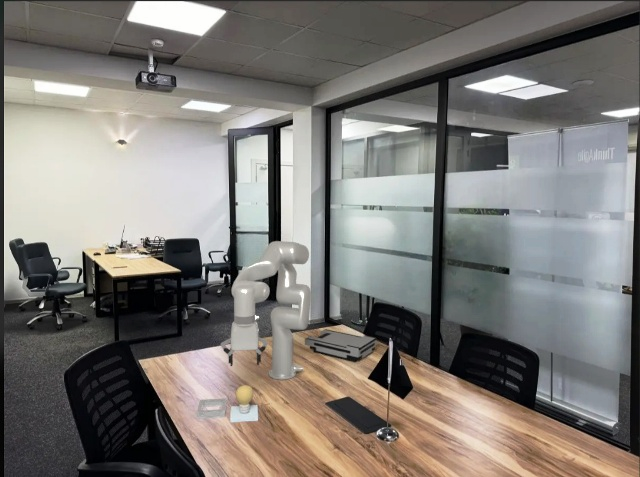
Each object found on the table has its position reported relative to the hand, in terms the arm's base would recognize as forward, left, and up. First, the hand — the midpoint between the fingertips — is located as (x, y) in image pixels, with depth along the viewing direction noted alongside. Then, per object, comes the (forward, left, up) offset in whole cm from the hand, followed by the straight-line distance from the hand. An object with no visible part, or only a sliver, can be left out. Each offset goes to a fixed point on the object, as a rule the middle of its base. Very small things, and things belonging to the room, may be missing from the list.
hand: (244, 364), depth 157 cm
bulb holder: (+12, -4, -19) cm, 23 cm away
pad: (0, 0, -19) cm, 19 cm away
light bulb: (0, 0, -19) cm, 19 cm away
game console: (-50, -61, -20) cm, 82 cm away
